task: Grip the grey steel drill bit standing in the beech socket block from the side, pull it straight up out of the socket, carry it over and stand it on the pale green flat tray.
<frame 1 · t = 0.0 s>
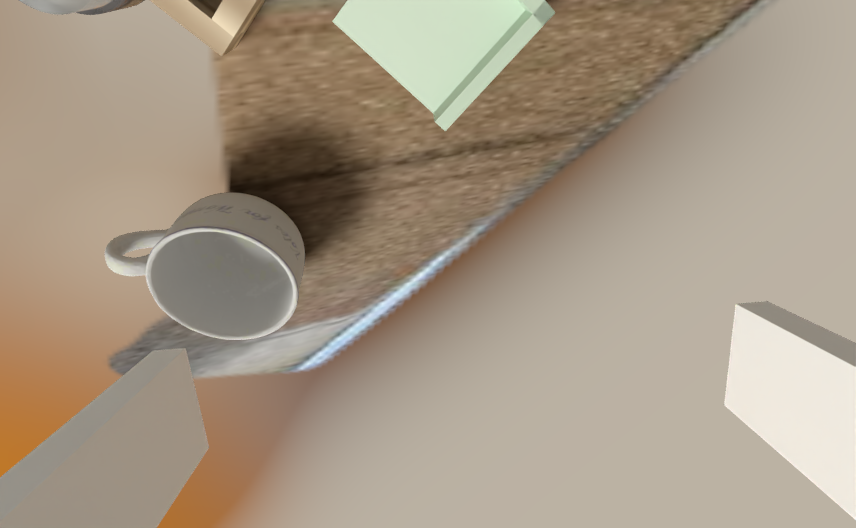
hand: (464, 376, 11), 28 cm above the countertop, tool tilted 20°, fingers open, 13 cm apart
pale green flat tray: (438, 13, 31), on the countertop
teacup: (232, 227, 40), on the countertop
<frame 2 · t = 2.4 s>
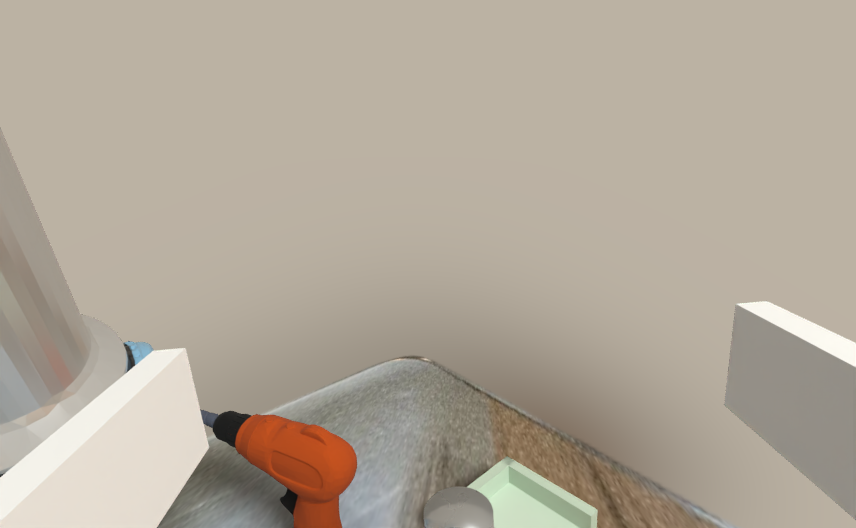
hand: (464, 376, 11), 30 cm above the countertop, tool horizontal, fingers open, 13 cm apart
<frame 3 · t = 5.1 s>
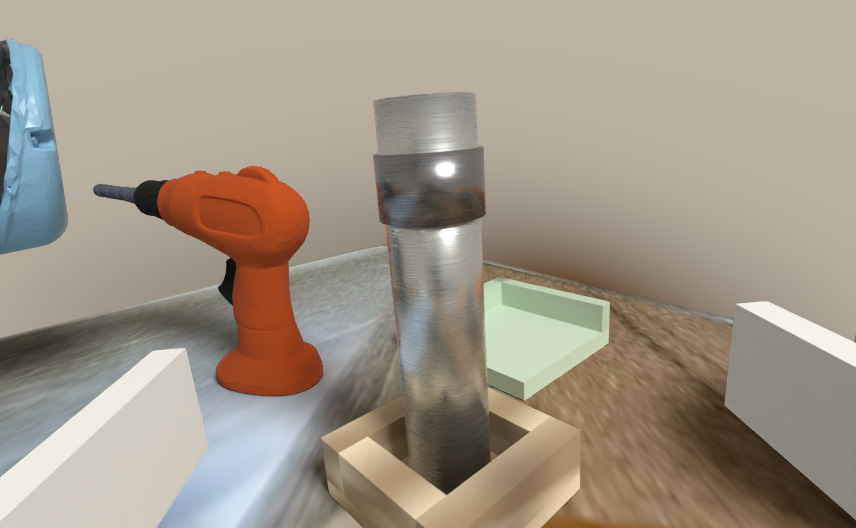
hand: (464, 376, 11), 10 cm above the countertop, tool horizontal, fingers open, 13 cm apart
pale green flat tray: (510, 347, 34), on the countertop
socket: (452, 491, 21), on the countertop
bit: (451, 476, 21), point 1 cm above the countertop, touching socket
toy drill: (224, 371, 34), on the countertop
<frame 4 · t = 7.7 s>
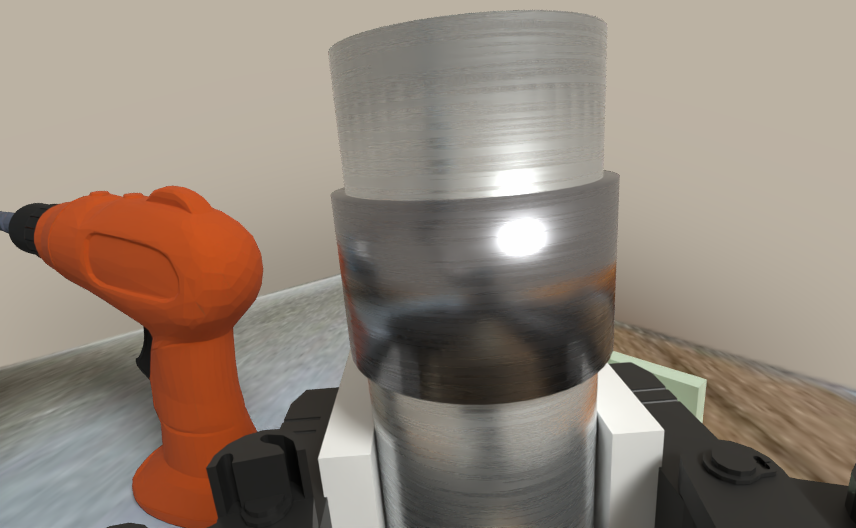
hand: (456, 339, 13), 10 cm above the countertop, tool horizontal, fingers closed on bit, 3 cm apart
pale green flat tray: (558, 439, 24), on the countertop
toy drill: (152, 471, 24), on the countertop
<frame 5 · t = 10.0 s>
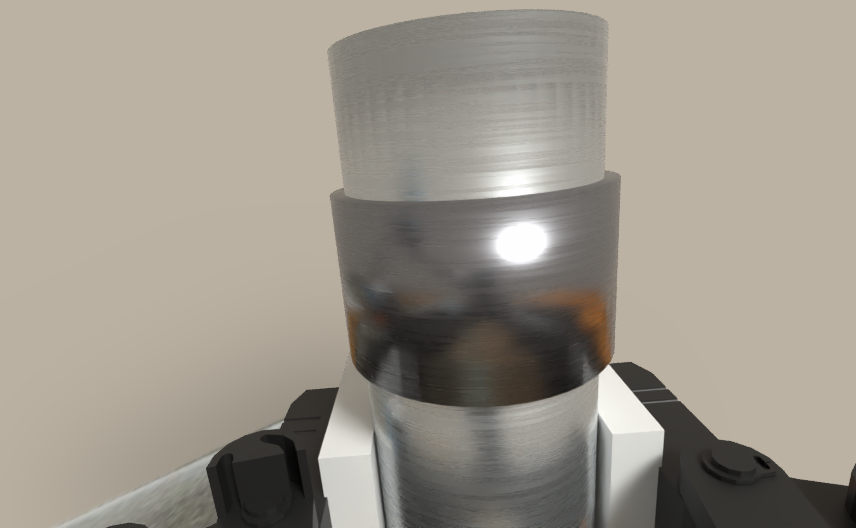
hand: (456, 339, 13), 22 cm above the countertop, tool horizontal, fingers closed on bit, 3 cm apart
when the fingers open (12 cm above the countertop, at t = 12.3 s): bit drops 1 cm, resting on pale green flat tray.
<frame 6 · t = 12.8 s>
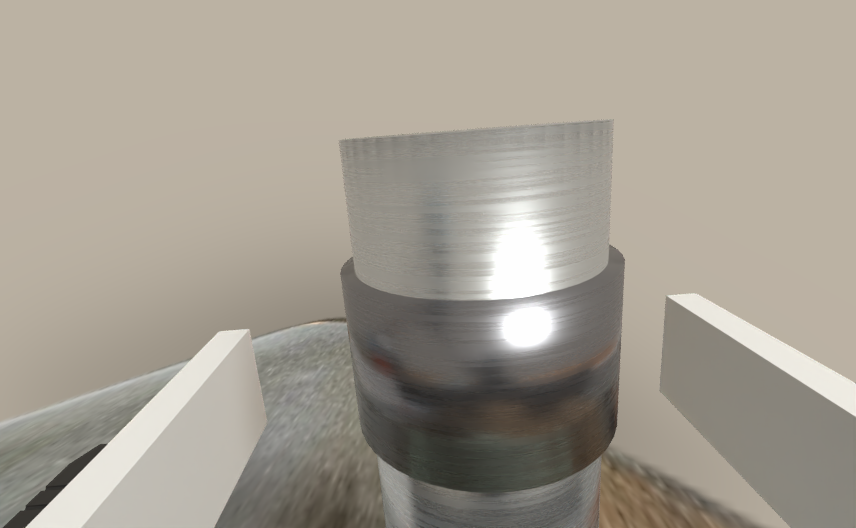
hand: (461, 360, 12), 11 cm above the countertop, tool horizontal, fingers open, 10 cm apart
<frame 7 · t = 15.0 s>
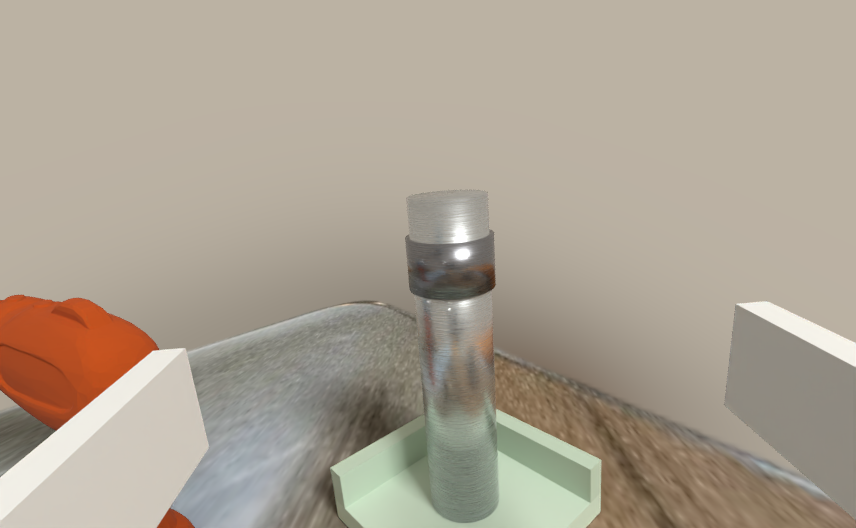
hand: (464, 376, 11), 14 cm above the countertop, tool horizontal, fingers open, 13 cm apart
pale green flat tray: (466, 514, 25), on the countertop
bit: (465, 496, 25), point 1 cm above the countertop, touching pale green flat tray
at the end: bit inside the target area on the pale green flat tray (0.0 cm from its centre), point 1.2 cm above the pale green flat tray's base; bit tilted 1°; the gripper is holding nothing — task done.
